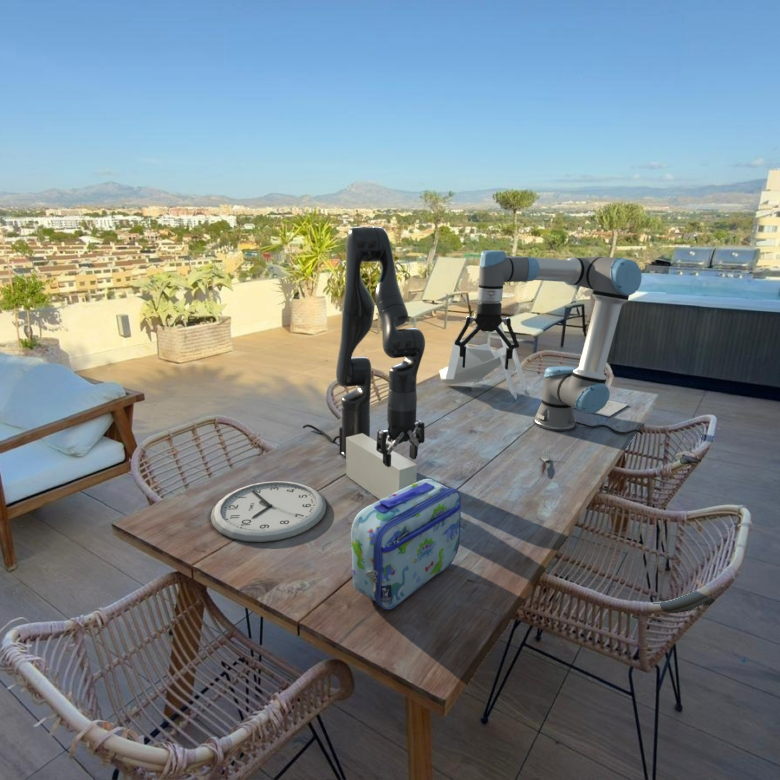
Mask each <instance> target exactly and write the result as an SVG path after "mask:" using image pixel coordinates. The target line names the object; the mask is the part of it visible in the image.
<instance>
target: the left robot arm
mask: <svg viewBox="0 0 780 780" xmlns="http://www.w3.org/2000/svg"><path fill="white" fill-rule="evenodd" d="M346 236H347V237H346V242H345V282H344V283H345V284H344V294H343V304H342V312H341V333H340V343H339V350H338V355H337V360H336V369H335V378H336V382H337V384H338V385H339V386H340V387H342V388H343V387H344V388H352V387H356V388H355V389H353V390H352V391H350V392H348V393H346V394H344V395H343V396H342V397H341V426H340V427H339V429H338V433H339V435H335V436H334V438H332V437H331V436H329V434H327V433H326V432H325V431H324V430H321V429H319V428H318V427H316V426H314V425H312V424H304V425H303V426H302V429H305V428H311V429H313V430H314V431H316V432H318V433H320V434H321V435H323V436H324V437H325V438H326V439H327V440H329V441H330V442H331V443H335V442H336V441H337V440H338V443H339V455H341V456H342V457H343V458H345V459H346V437H349V436H353V435H357V434H361V433H363V434H365V435H366V436H368V437H370V438H371V429H370V428H371V391H372V376H373V375H372V372H373V371H372V369H373V368H372V363H371V360H370V359H369V357H366V356H356V357H355V356H354V357H353V354H354V352H355V350H356V349H357V347H358V346H359V344H360V343H361V342H362V341H363V340H364V339H365V337H366V336H367V335H368V333H369V332H370V331H371V328H372V327H373V324H374V315H375V307H376V309H377V312H378V315H379V318H380V321H381V331H382V333H381V334H382V349H383V352H384V353H385V355H386V356H387V357H389V358H390V359H400V358H404V359H403V360H402V361H401V362H400V363H398V364H395V365H393V366H391V367H390V369H389V372H388V375H389V376H388V393H387V409H386V410H387V411H386V413H387V414H386V415H387V418H386V421H387V425H388V426H387V429H384V430H382V429H377V432H376V441H377V446H376V450H377V451H378V452H380V453H381V454H383V464H384V465H385V466H387V467H391V452H392V451H394V449H396V448H397V446H398V445H399V444H402V443H407V442H409V443H410V444H409V455H408V456H409V458H410V459H411V460H417V457H418V454H419V452H418V451H419V446H420V444H423V443H425V439H426V437H425V423H424V422H422V421H421V420H419V419H417V409H418V408H417V406H418V405H417V404H418V395H417V394H418V393H417V382H418V381H417V379H418V376H417V375H418V371H419V368H420V364H421V362H422V358H423V355H424V353H425V348H426V338H425V335H424V333H423V332H422V330H420V329H419V328H417V327H416V328H413V327H412V328H411V327H410V328H399V327H401V326H403V325H404V324H405V323H407V321H408V319H409V312H408V309H407V307H406V304H405V301H404V298H403V296H402V293H401V290H400V286H399V282H398V276H397V271H396V265H395V260H394V255H393V250H392V245H391V241H390V238H389V235H388V233H387V230H385V229H384V228H383V227H380V226H356V227H355V226H354V227H351V228H350V229H349V230H348V233H347V234H346ZM377 262H378V263H379V266H380V274H379V279H378V281H377V284H376V288H375V291H374V299H373V296H372V295H371V293H370V291H369V290H368V288H367V286H366V285H365V284H366V283H364V280H363V278H362V272H361V265H362V263H377ZM397 328H398V329H397ZM414 432H415V433H414ZM391 441H392V442H391Z"/></svg>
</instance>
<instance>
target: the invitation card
mask: <svg viewBox="0 0 780 780" xmlns="http://www.w3.org/2000/svg"><path fill="white" fill-rule="evenodd" d="M628 406H629V404H627V403H623V402H618V401H614V400H608V402H607V403H606V405H605V406H604V407H603V408H602V409H600V410H599V411H598V412H596V413H595V414H596V415H600V416H604V417H608V418H609V417H611V416H613V415H614V414H616V413H617V412H619V411H621V410H623V409H624V408H626V407H628Z"/></svg>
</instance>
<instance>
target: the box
mask: <svg viewBox="0 0 780 780" xmlns="http://www.w3.org/2000/svg"><path fill="white" fill-rule="evenodd" d="M376 446H377V440H375V439H373V438H371V436H370V437H368V436H366V435H365V434H363V433H361V434H357V435H353V436H349V437H346V458H345V474H346V475H345V476H346V477H348V478H349V479H350V480H351V481H353V482H355V483H356V484H357V485H359V486H360V487H361V488H363V489H364V490H365V491H367V492H369V493H370V494H371V495H372V496H374V497H375V498H377V499H378V500H381V499H383V498H385V497H387V496H389V495H391V494H393V493H395V492H397V491H399V490H401V489H403V488H405V487H407V486H410V485H412V484H414V483H416V482H418V479H417V478H418V464H417V463H415V462H414V461H411V460H410V459H408V458H406V457H405V456H403V455H401V454H400V453H398V452H396V451H394V450H392V452H391V467H387V466H385V465H384V464H383V454H381V453H380V452H378V451H377V450H376Z"/></svg>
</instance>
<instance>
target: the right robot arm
mask: <svg viewBox="0 0 780 780" xmlns="http://www.w3.org/2000/svg"><path fill="white" fill-rule="evenodd" d="M478 266H479V271H478V272H479V273H478V288H477V300H478V302H477V303H476V306H477V307H476V314H475V317H474V316H470V315H466V318H465V322H464V325H463V326H462V328H461V330H460V331H459V333H458V335H457V337H456V338H455V339H456V340H455V345H458V346H459V347H460V357H463V364H462V367H463V368H465V358H466V346H465V345H466V344H467V345H468V343H469V342H470V341H471V340H472V339H473V338H474V337H475V336H476V335H477V334H478V333H479V332H480V331H481V332H483V333H484V332H490V333H492V332H496V333H497V334H498V336H499V338H500V337H501V338H502V339H503V341H504V342H505V343H506V345H507V346H508V347H509V348H506V357H505V370H508V368H509V361H510V360H509V359H511V360H513V359H512V354H513V349H514V348H515V349H519V347H520V344H519V341H518V339H517V336H516V334H515V331H514V329H513V327H512V320H511V317H509V316H507V317H506V318H505V317H504V318H502V305H503V304H502V301H503V291H504V283H527V282H533V281H546V282H560V283H561V282H562V283H565V284H566V285H569V286H576V287H582V288H585V289H589V290H592V297H593V299H594V306H593V309H592V312H591V317H590V321H589V325H588V328H587V333H586V337H585V341H584V344H583V348H582V352H581V355H580V360H579V364H578V367H574V366H566V365H565V366H564V365H562V366H561V365H559V366H558V365H557V366H549V367H547V368H546V369H545V370H544V375H543V381H542V392H541V402H540V405H539V407H538V410H537V411H536V413H535V417H534V424H535V425H536V426H537V427H539V428H542V429H544V430H549V431H556V432H567V431H572V430H574V429H575V428H576V425H579V426H581V427H585V428H588V429H596V428H606V429H609V430H610V431H612V432H613V433H615V434H618V435H629V434H631V433H638V434H640V435H644V432H643V431H642V430H640V429H636V428H635V429H631V430H627V431H620V430H616V429H614V428H613V427H612V426H610V425H607V424H603V423H601V424H594V425H591V424H586V423H583V422H581V421H580V422H579V421H576V418H575V417H576V416H575V413H574V409H575V410H577V411H579V412H581V413H582V412H583V413H585V414H589V415H590V414H591V415H593V414H596V412H598V411H599V410H600V409H602V408H603V407H604V406H605V405H606V403H607V402H608V400H609V399H610V395H611V393H610V390H609V389H610V388H609V387H608V385H606V383H607V376H606V374H605V369H606V364H607V361H608V358H609V354H610V351H611V347H612V343H613V338H614V335H615V332H616V327H617V324H618V321H619V318H620V317H619V316H620V313H621V309H622V306H623V305H624V304H625V303H627V302H629V299H630V296H631V295H634V294H636V291H638V290H639V288H640V286H641V284H642V278H643V275H642V270H641V268H640V266H639V264H638V262H636V261H635V260H633V259H630V258H624V257H609V256H587V257H586V256H585V257H575V256H574V257H569V258H568V259H558V258H545V257H532V256H517V255H507V254H506V251H505V250H490V249H489V250H483V251H482V252H481V254H480V260H479V265H478ZM473 322H474V323H475V324H476V326H475V327H474V328H473V329H472V330H471V331H470V332H469V333H468V334H467V336H466V337H465V338H464V339H463V337H464V336H465V334H466V331H467V330H468V328H469V327H470V325H472V324H473ZM502 323H503V324H504V326H506V328H507V330H508V332H509V333H508V334H509V335H510V337H511V341H512V342H513V343H511V341H510V340H509V339H508V337H507V336H506V334H505V333H504V334H505V335H504V334H503V332H502V331H501V330H500V328H499V327H498V326H499V325H500V324H502ZM501 338H500V339H501ZM461 339H463V341H462V342H460V340H461Z"/></svg>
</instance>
